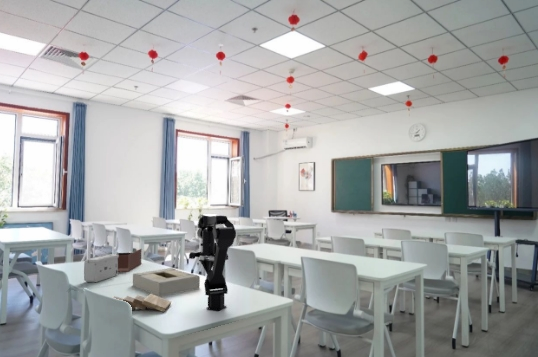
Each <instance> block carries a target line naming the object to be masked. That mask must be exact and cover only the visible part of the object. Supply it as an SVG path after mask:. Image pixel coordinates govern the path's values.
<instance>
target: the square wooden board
mask: <svg viewBox="0 0 538 357" xmlns="http://www.w3.org/2000/svg"><path fill="white" fill-rule="evenodd" d="M144 298H145V299H144V300H143V302H142V304H144V305H147V306H149V307H152V308H155V310H157V311H161V312H164V313H165V311H166V310H167V309H168V308H169V306H171V303H172V301H171V300H168V299H166V298H163V297H162V296H157V295H155V294H152V293H150V294H148V295H147V296H146V297H144Z"/></svg>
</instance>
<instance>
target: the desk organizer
mask: <svg viewBox="0 0 538 357" xmlns="http://www.w3.org/2000/svg"><path fill="white" fill-rule="evenodd" d="M115 254H116V255H119V258H118V273H129V272H132V271H133V270H134V269H136V268H138V267H140V266H141V265H143V263H142V248H140V249H138V250H136V251H132V252H118V253H115Z"/></svg>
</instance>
